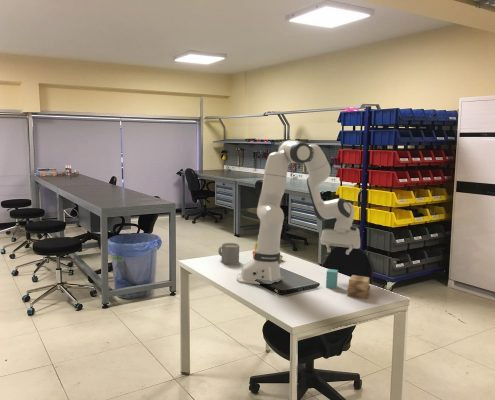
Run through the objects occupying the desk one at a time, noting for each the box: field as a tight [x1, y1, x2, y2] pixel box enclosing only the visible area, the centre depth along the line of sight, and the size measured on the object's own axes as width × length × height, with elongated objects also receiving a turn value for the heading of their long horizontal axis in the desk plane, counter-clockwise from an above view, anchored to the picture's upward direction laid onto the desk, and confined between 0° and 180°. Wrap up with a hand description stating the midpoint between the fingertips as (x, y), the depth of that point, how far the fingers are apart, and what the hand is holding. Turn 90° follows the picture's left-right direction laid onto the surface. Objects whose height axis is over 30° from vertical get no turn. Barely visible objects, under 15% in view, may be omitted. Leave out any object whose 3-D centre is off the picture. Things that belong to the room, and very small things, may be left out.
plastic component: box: [253, 242, 284, 262], centre depth 271 cm, size 20×7×10 cm
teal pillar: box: [325, 268, 339, 289], centre depth 221 cm, size 4×4×8 cm
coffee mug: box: [217, 242, 240, 265], centre depth 260 cm, size 13×10×10 cm
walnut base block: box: [346, 284, 371, 300], centre depth 211 cm, size 9×9×4 cm
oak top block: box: [348, 274, 370, 291], centre depth 211 cm, size 8×8×4 cm
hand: (337, 252), depth 231 cm, fingers open, 8 cm apart
